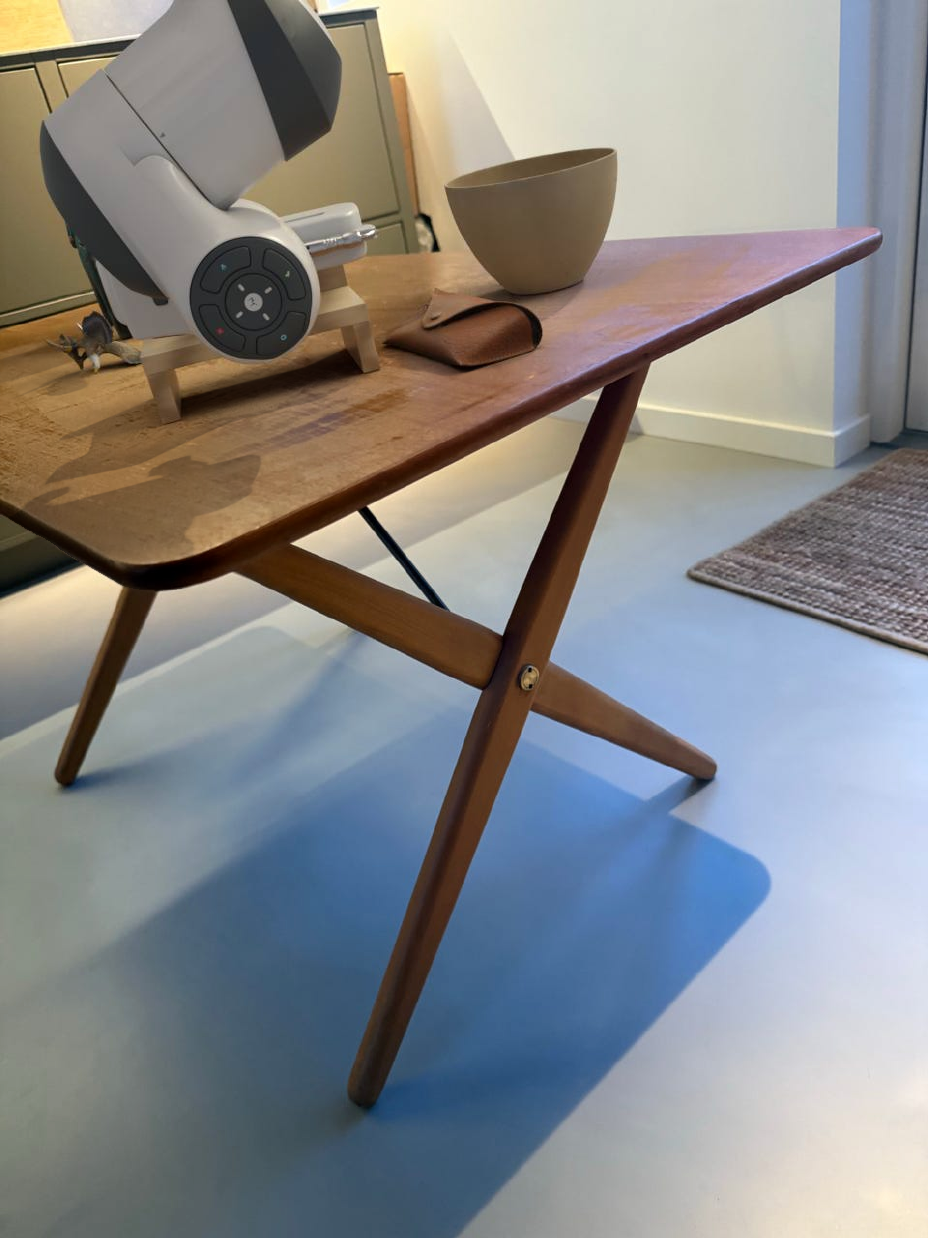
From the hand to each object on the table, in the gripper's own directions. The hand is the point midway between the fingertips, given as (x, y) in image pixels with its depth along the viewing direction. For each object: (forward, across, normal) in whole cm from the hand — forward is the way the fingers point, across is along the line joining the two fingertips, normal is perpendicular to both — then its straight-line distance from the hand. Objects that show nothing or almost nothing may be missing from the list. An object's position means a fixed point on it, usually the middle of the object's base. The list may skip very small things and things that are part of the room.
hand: (231, 246), depth 82 cm
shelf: (+7, 0, +13) cm, 15 cm away
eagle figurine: (+33, +17, +13) cm, 40 cm away
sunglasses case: (+2, -18, +13) cm, 22 cm away
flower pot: (+19, -32, +13) cm, 40 cm away
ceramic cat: (+58, +16, +13) cm, 62 cm away
